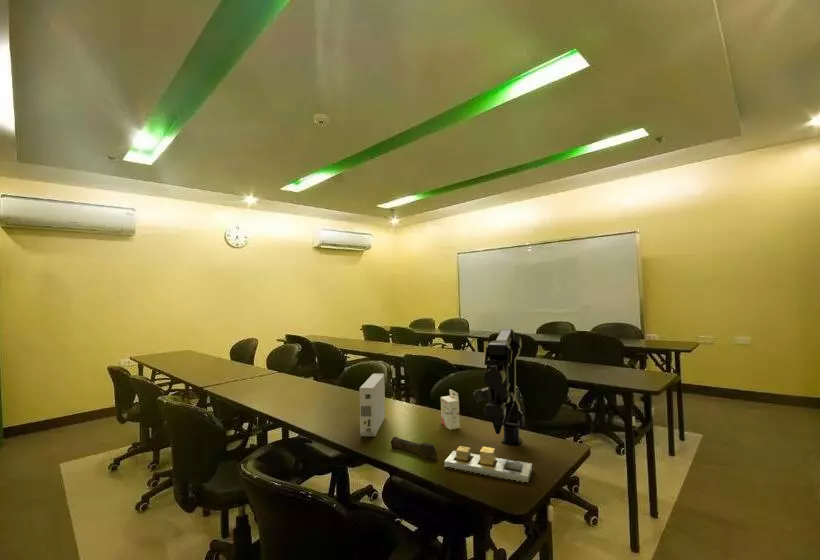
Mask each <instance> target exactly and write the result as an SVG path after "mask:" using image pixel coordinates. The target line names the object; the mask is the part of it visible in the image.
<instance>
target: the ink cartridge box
mask: <svg viewBox="0 0 820 560" xmlns="http://www.w3.org/2000/svg"><path fill="white" fill-rule="evenodd" d="M459 399H460V397H459V393H458V392H456V391H454V390H453V389H451V388H450V389H449V395H446V396H440V422H441V425H442V426H444V427H445V428H447V429H448V430H449V429H450V430H449V431H452V429H453V430H456V429H457V428H458V429H460V426H461V425H460V400H459ZM458 429H457V430H458Z"/></svg>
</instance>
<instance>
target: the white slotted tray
mask: <svg viewBox="0 0 820 560" xmlns="http://www.w3.org/2000/svg"><path fill="white" fill-rule="evenodd" d="M471 449H472V448H471V447H469V446H464V445H463V446H462V445H459V446H457V449H456V450H453V451H452V452H451V453H450V454H449V456H447V458H446V459H445V460H444V468H445V467H451V468H455V469H454V470H456V469H461V470H465V471H464V472H466V471H470V472H469V473H472V472H474V473H473V474H477V473H480V474H479V475H482V474H484V475H483V476H487V475H489V476H488V477H493V478H498V479H503V478H504V479H503V480H508V479H510V480H509V481H513V480H516V481H515V482H519V481H521V482H520V483H524V482H528V481H530V479H529V478H531V476H532V475H531V474H532V471H533V463H529V462H524V461H517V460H513V459H512V460H511V459H506V458H500V457H495V459H496V465H495V467H489V466H483V465H480V454H476V453H472V452H471V451H472V450H471ZM451 468H450V469H451ZM461 470H460V471H461ZM528 483H529V482H528Z"/></svg>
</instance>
